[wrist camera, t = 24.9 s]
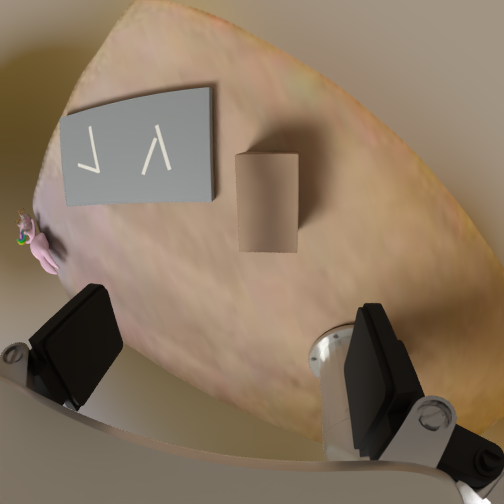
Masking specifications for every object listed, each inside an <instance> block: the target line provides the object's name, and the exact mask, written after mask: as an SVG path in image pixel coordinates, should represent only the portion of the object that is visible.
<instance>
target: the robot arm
mask: <svg viewBox="0 0 504 504" xmlns="http://www.w3.org/2000/svg"><path fill="white" fill-rule="evenodd" d="M29 342H30V344H31V346H32V349H31V350H29V348H28V346H27V344H25V343H22V342H17V343H14V344H11V345H9V346H8V347H7V348H5V349H4V350H3V352H2V353H1V355H0V504H504V453H503V451H502V449H501V448H500V447H499V446H498V445H496V444H495V443H493V442H491V441H488V440H487V439H485V438H483V437H481V436H479V435H477V434H475V433H473V432H471V431H469V430H467V429H465V428H463V427H461V426H459V425H457V424H456V419H457V416H456V411H455V409H454V407H453V406H452V405H451V404H450V402H449V401H447V400H445V399H444V398H442V397H438V396H426V397H425V395H424V393H423V390H422V387H421V385H420V382H419V380H418V377H417V375H416V372H415V370H414V367H413V365H412V362H411V360H410V358H409V355H408V353H407V350H406V348H405V346H404V344H403V342H402V341H401V340H397V338H396V335H395V333H394V331H393V329H392V326H391V324H390V322H389V320H388V317H387V315H386V313H385V311H384V309H383V307H382V305H381V304H380V303H365V304H364V305H363V307H359V308H358V311H357V315H356V319H355V324H354V325H345V326H341V327H338V328H335V329H333V330H330V331H328V332H327V333H325V334H324V335H322V336H321V337H320V338H319V339H318V340H317V341H316V342H315V343H314V344H313V346H312V348H311V350H310V353H309V366H310V369H311V371H312V373H313V374H314V375H315V376H316V377H318V378H319V379H320V390H321V407H322V428H323V448H324V453H325V455H326V458H327V459H328V461H285V460H268V459H256V458H246V457H238V456H231V455H224V454H217V453H211V452H206V451H200V450H195V449H190V448H186V447H181V446H177V445H173V444H169V443H165V442H161V441H157V440H153V439H150V438H146V437H143V436H140V435H136V434H133V433H130V432H127V431H124V430H121V429H118V428H115V427H112V426H110V425H107V424H104V423H102V422H99V421H96V420H94V419H91V418H89V417H87V416H84V415H82V414H80V413H77V412H75V411H78V410H79V408H80V407H81V406H83V405H84V404H85V403H86V401H87V400H88V398H89V397H90V395H91V394H92V392H93V391H94V389H95V388H96V386H97V385H98V383H99V382H100V381H101V379H102V378H103V376H104V375H105V373H106V372H107V370H108V369H109V367H110V366H111V365H112V363H113V362H114V360H115V359H116V357H117V356H118V354H119V353H120V352H121V350H122V348H123V341H122V338H121V335H120V331H119V328H118V325H117V322H116V318H115V315H114V312H113V308H112V305H111V301H110V297H109V293H108V291H107V289H105V287H104V286H103V285H100V284H93V283H90V284H88V285H87V286H86V287H85V288H84V289H83V290H81V291H80V292H79V293H78V294H77V295H76V296H75V297H73V298H72V299H71V300H70V301H69V302H68V303H67V304H66V305H65V306H63V307H62V308H61V309H60V310H59V311H58V312H57V313H56V314H55V315H54V316H53V317H51V318H50V319H49V320H48V321H47V322H46V323H45V324H44V325H43V326H42V327H41V328H40V329H39V330H38V331H37V332H36V333H35V334H34V335H33V336H32V337H31V338H30V339H29ZM64 403H65V404H66V406H67V407H68V408H70V409H72V410H70V409H68V408H66V407H64V406H63V404H64ZM73 410H74V411H73Z"/></svg>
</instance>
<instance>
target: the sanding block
mask: <svg viewBox="0 0 504 504" xmlns="http://www.w3.org/2000/svg"><path fill="white" fill-rule="evenodd" d="M235 166H236V189H237V211H238V232H239V251H240V252H278V253H297V245H298V153H297V152H296V151H258V152H243V153H240V154H236V155H235Z"/></svg>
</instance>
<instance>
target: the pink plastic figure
mask: <svg viewBox="0 0 504 504" xmlns="http://www.w3.org/2000/svg"><path fill="white" fill-rule="evenodd" d="M23 211H24V210H23V209H22V210H20V211H18V212H20V216H21V218H22V223H19V222H20V221H21V219H19V220H17V225H18V226H19V227H20V240H18V239H17V242H18V243H19V244H20V245H24V244H25V243H31V244H30V248H31V251H32V253H33V255H34V256H35V257H36V258H37V259H39V260H40V262H41V265H42V267H43V268H44V269H45V270H46V271H47V272H48V273H51V274H58V273H57V272H56V271H55V269H54V268H53V267H52V266H51V265H53V266H54V267H56V268H58V269H59V266H58V265H57V264H56V263H55V261H54V260H53V258H52V257H51V255H50V252H49V244H48V241H47V239H46V236H45V234H44V233H39V234H38V235H37V236H36V230H35V224H34V219H31V217H30V216H29V215H27V214H21V212H23ZM26 234H27V235H29V237H30V240H29V241H26V236H25V235H26Z"/></svg>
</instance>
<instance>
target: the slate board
mask: <svg viewBox="0 0 504 504" xmlns="http://www.w3.org/2000/svg"><path fill="white" fill-rule="evenodd" d="M60 143H61V159H62V171H63V181H64V190H65V197H66V204H67V206H82V205H99V204H121V203H152V202H212V201H213V200H214V199H215V194H214V163H213V89H211V88H210V87H205V88H196V89H187V90H179V91H172V92H166V93H159V94H153V95H148V96H143V97H138V98H133V99H128V100H123V101H119V102H115V103H111V104H107V105H103V106H99V107H95V108H92V109H88V110H85V111H81V112H78V113H75V114H72V115H68V116H65V117H62V118H60Z"/></svg>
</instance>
